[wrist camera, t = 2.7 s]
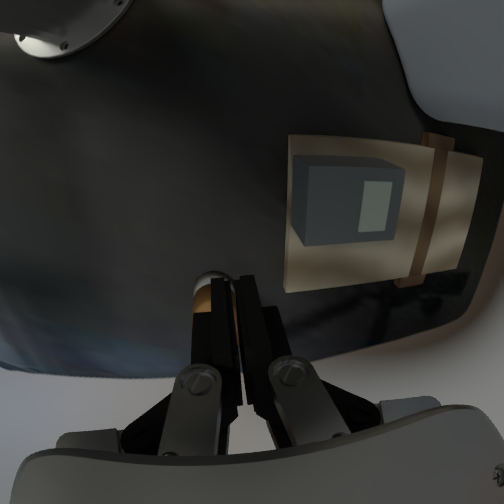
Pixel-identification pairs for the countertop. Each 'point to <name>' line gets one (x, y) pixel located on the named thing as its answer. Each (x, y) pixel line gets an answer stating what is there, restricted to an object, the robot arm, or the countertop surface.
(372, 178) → the block
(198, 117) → the countertop surface
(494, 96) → the plastic bottle
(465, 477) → the robot arm
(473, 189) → the board
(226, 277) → the orange brown cylinder
